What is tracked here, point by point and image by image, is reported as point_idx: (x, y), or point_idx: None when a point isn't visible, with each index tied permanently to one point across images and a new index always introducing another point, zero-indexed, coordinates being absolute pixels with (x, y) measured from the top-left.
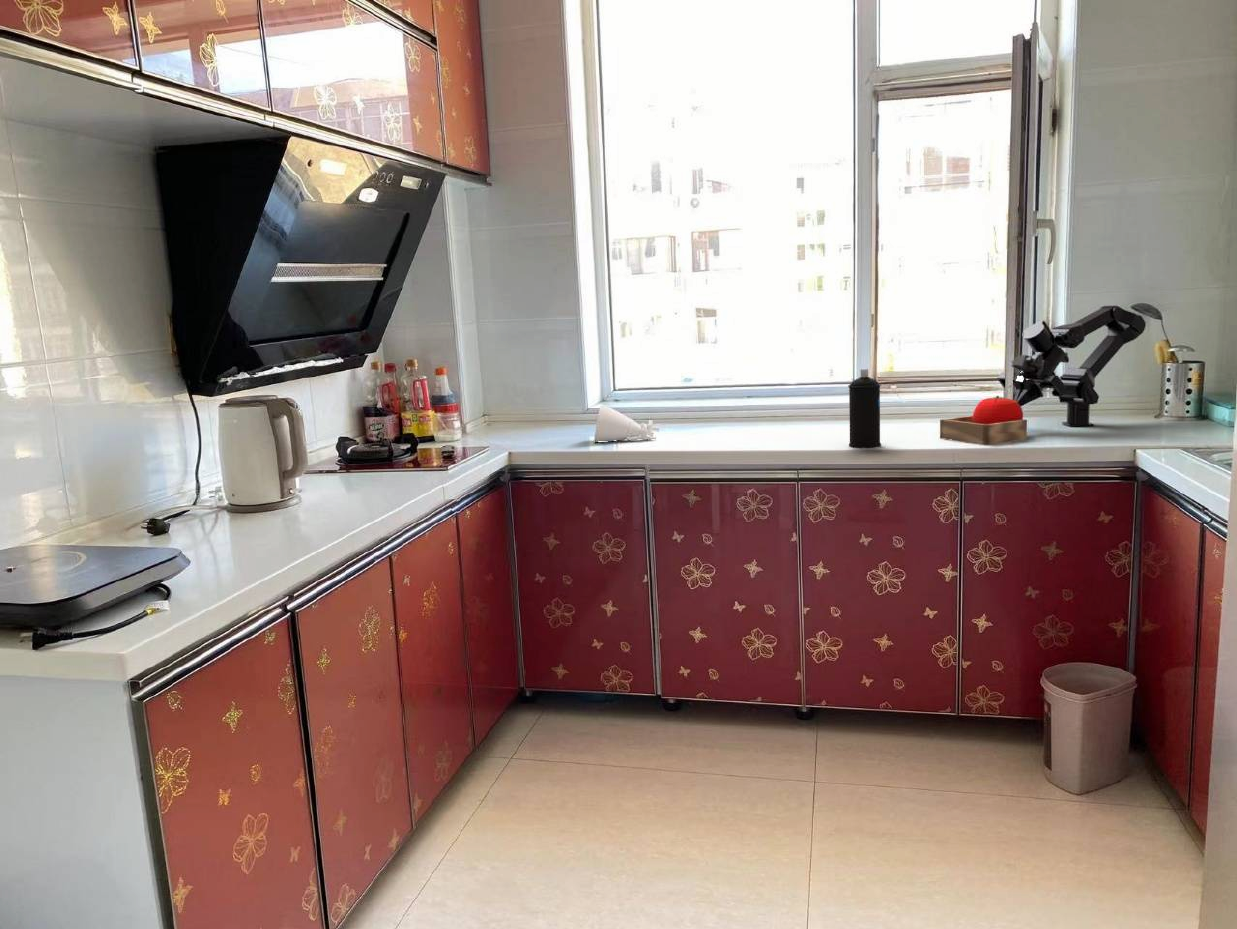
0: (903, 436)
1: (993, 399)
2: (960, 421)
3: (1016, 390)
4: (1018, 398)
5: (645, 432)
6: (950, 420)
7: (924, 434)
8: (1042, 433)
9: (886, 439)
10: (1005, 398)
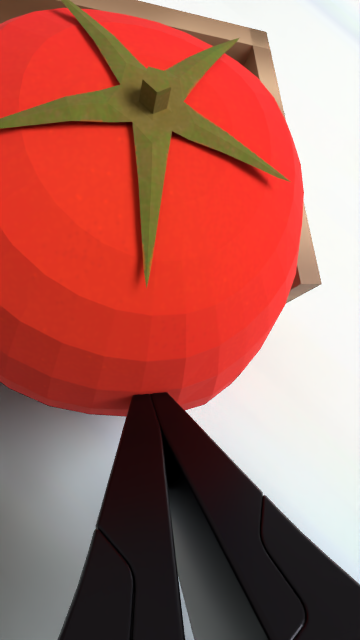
0: (328, 87)
1: (125, 40)
2: (148, 18)
3: (346, 595)
4: (150, 469)
5: None
6: (213, 28)
7: (333, 154)
8: (28, 580)
9: (300, 21)
10: (38, 108)
